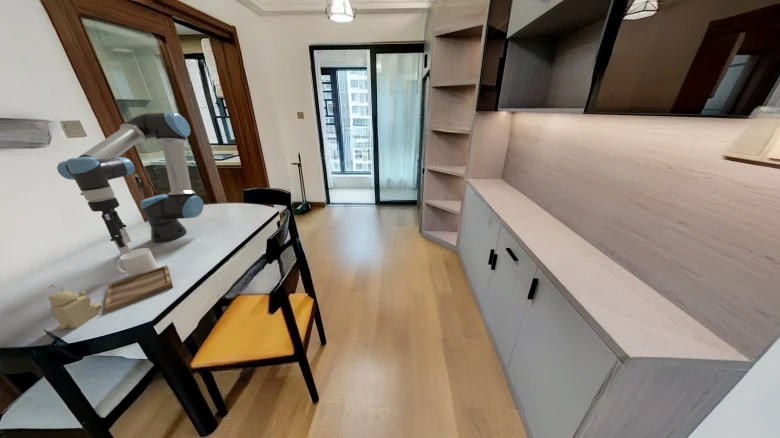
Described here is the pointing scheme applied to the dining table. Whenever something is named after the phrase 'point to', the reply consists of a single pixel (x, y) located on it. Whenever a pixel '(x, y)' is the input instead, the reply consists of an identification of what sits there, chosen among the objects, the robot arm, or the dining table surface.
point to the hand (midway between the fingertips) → (126, 247)
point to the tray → (137, 288)
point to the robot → (72, 308)
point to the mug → (137, 262)
